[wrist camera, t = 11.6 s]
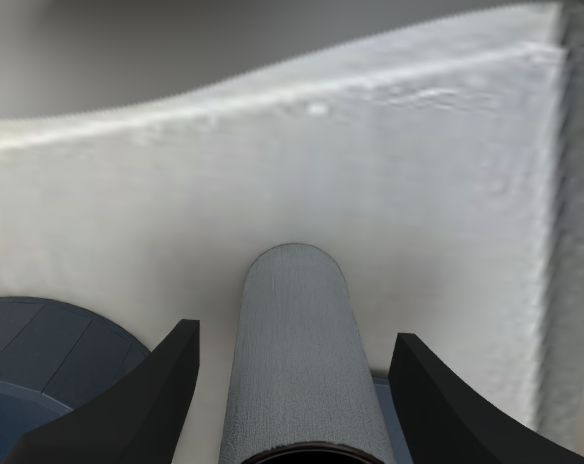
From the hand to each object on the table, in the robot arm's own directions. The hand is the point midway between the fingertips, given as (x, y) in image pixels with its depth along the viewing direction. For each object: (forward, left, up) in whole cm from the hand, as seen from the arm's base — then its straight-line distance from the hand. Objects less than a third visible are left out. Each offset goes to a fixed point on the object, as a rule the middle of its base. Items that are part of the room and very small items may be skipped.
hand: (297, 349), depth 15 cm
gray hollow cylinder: (0, 0, -5) cm, 5 cm away
